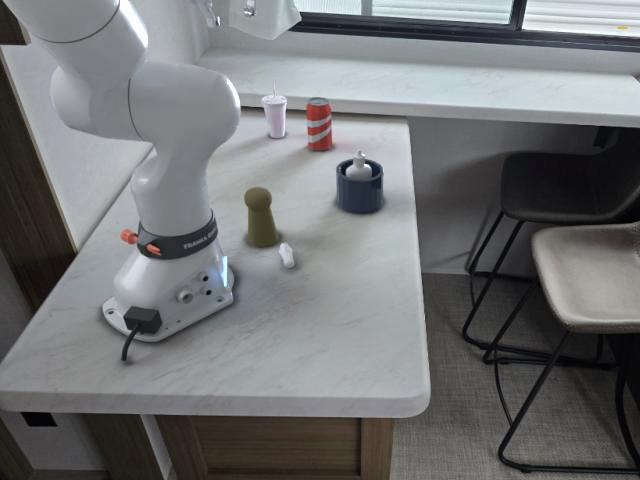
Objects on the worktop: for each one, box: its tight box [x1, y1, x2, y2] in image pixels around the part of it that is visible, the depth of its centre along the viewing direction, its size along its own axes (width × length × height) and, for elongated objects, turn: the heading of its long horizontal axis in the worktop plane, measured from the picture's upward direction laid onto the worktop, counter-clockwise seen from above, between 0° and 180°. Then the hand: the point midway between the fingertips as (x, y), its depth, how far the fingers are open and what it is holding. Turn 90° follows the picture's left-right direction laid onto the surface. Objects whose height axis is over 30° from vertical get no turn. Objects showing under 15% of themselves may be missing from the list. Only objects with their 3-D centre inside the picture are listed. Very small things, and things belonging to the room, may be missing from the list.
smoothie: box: [261, 80, 288, 139], centre depth 143 cm, size 6×6×14 cm
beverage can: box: [305, 96, 333, 152], centre depth 140 cm, size 6×6×12 cm
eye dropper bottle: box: [346, 148, 372, 180], centre depth 120 cm, size 4×6×12 cm
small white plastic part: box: [278, 242, 295, 269], centre depth 106 cm, size 4×6×3 cm, turn 175°
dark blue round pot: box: [335, 158, 385, 215], centre depth 122 cm, size 10×10×8 cm
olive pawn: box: [243, 186, 279, 248], centre depth 109 cm, size 6×6×11 cm
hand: (232, 21), depth 104 cm, fingers open, 8 cm apart
